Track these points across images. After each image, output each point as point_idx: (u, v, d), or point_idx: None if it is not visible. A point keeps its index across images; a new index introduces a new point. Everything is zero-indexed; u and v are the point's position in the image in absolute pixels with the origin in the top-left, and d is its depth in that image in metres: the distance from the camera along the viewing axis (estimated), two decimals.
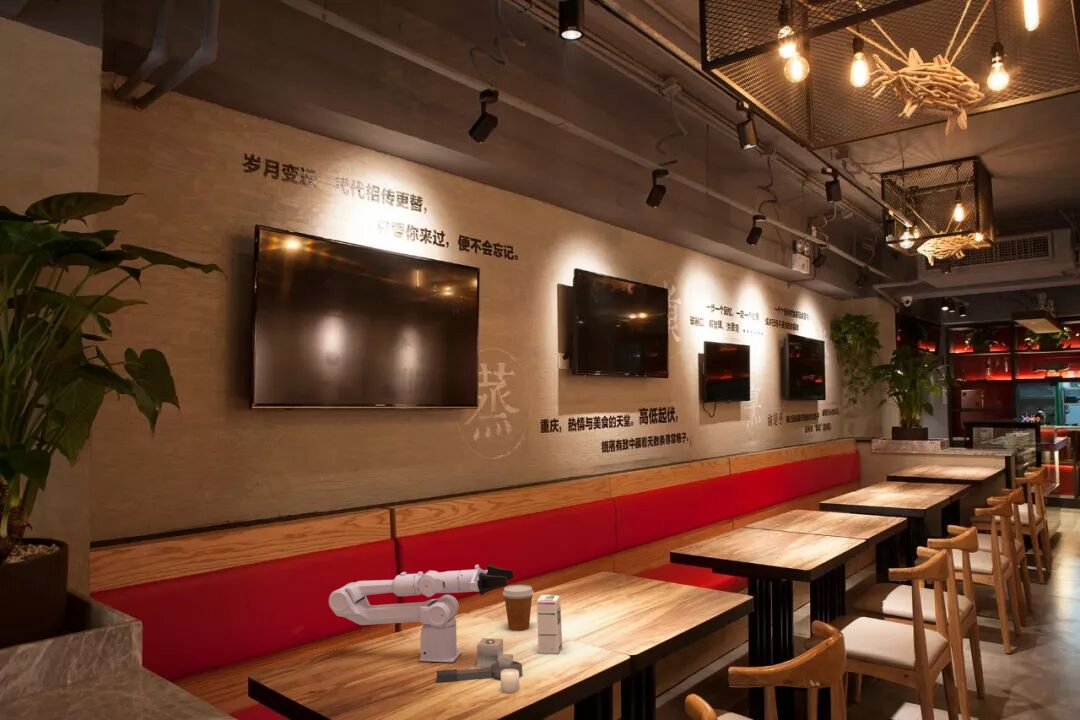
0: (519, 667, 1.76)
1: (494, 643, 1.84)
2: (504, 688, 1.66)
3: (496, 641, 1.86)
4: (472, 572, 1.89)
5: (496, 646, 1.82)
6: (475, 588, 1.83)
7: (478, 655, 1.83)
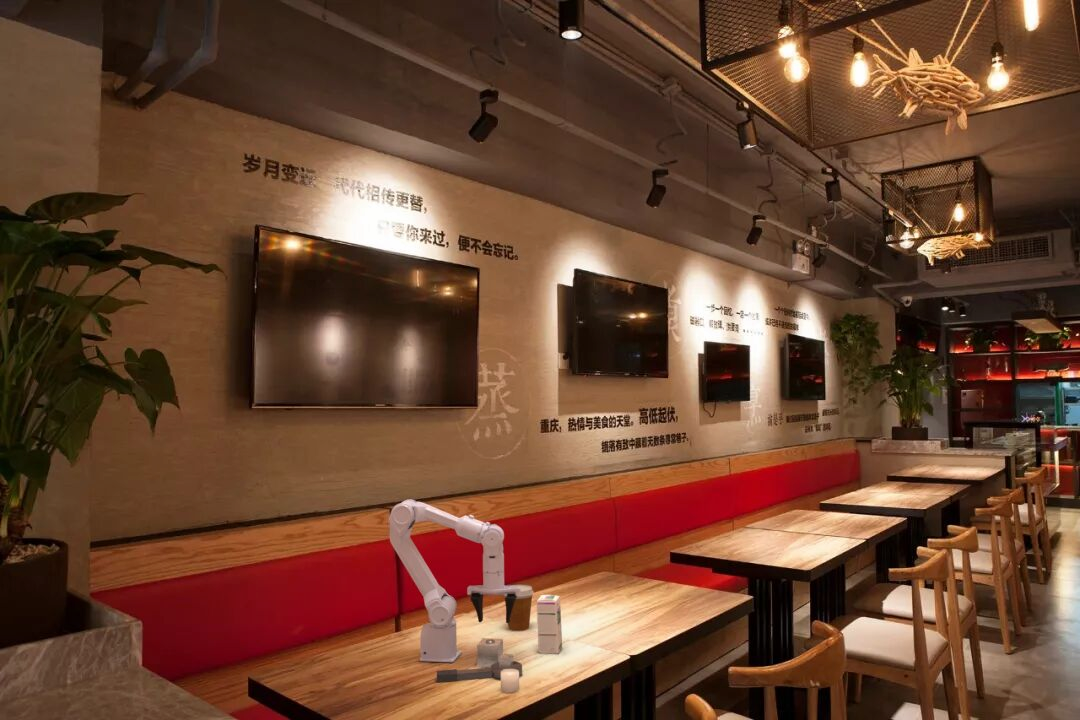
0: (519, 667, 1.76)
1: (494, 643, 1.84)
2: (504, 688, 1.66)
3: (496, 641, 1.86)
4: None
5: (496, 646, 1.82)
6: (519, 593, 1.89)
7: (478, 655, 1.83)
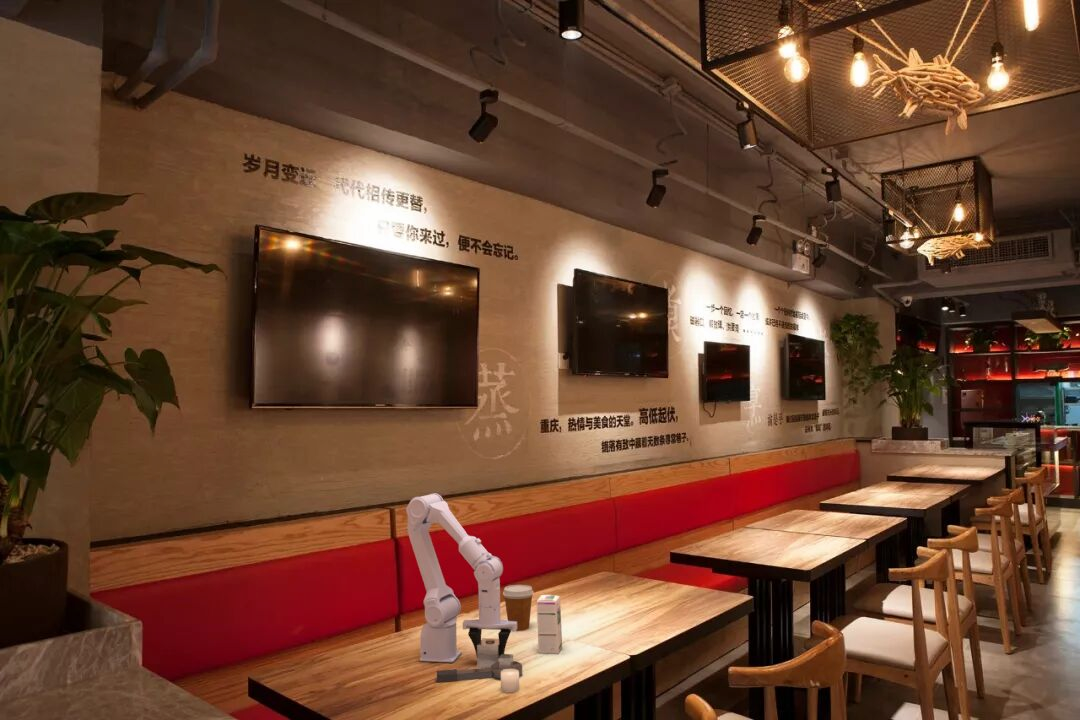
0: (519, 667, 1.76)
1: (494, 643, 1.84)
2: (504, 688, 1.66)
3: (496, 641, 1.86)
4: None
5: (496, 646, 1.82)
6: (516, 629, 1.84)
7: (478, 655, 1.83)
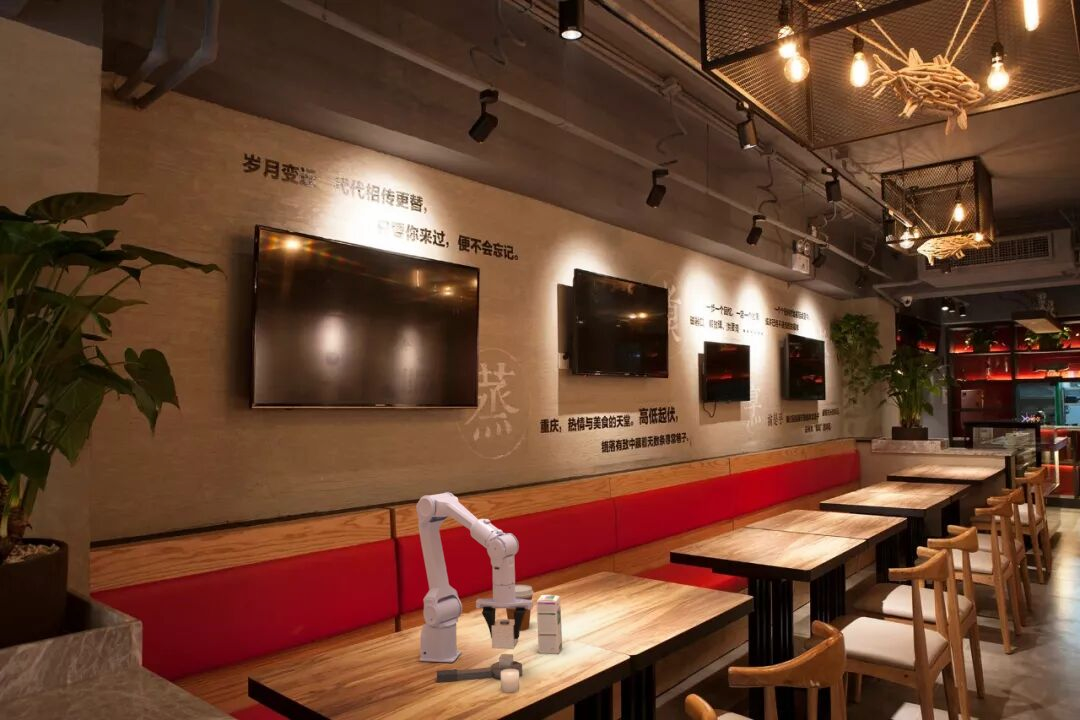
0: (519, 667, 1.76)
1: (509, 623, 1.77)
2: (504, 688, 1.66)
3: (511, 622, 1.79)
4: None
5: (511, 626, 1.76)
6: (531, 607, 1.77)
7: (493, 636, 1.76)
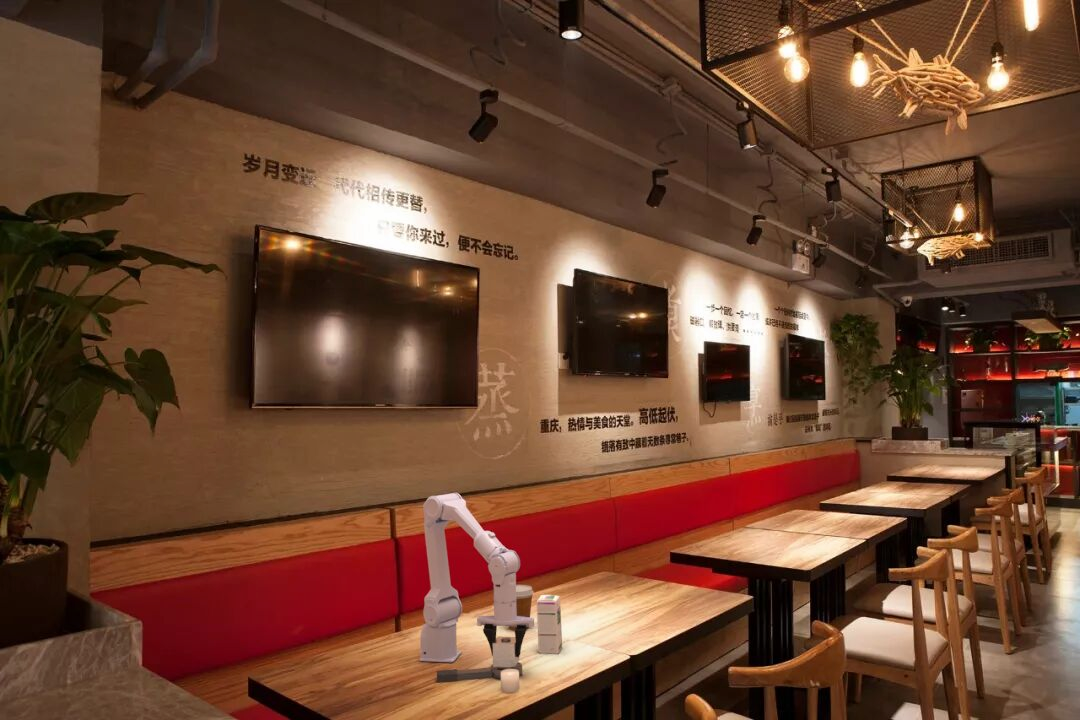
0: (519, 667, 1.76)
1: (510, 641, 1.76)
2: (504, 688, 1.66)
3: (512, 639, 1.78)
4: None
5: (512, 644, 1.75)
6: (533, 625, 1.76)
7: (494, 654, 1.75)
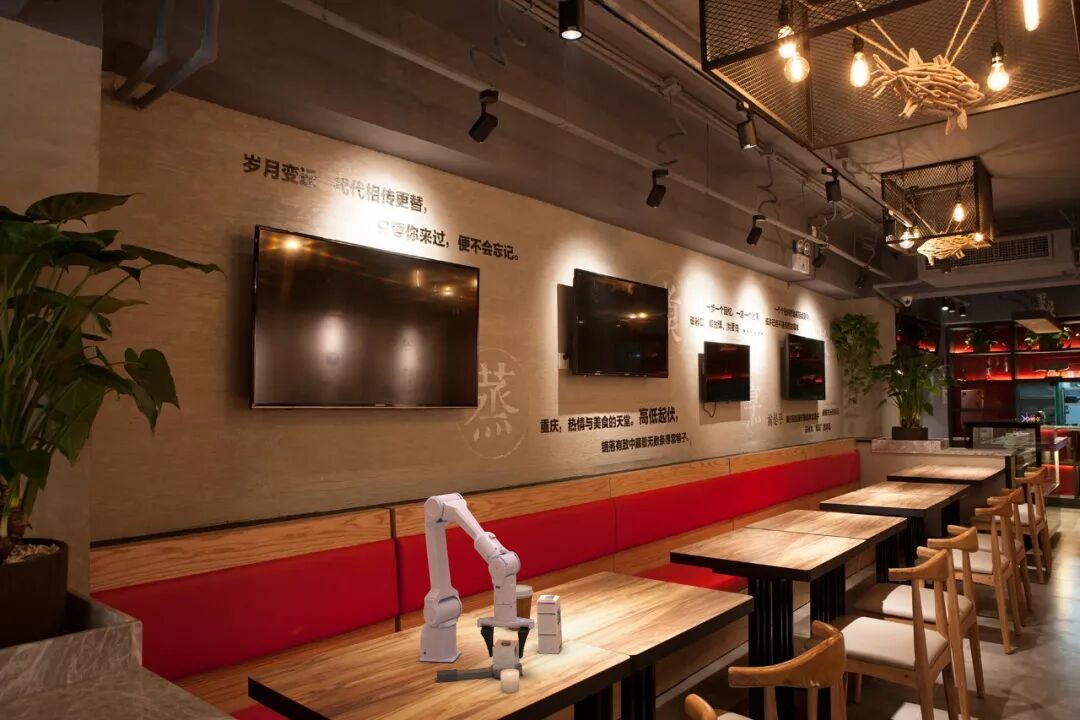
0: (519, 667, 1.76)
1: (510, 645, 1.76)
2: (504, 688, 1.66)
3: (512, 643, 1.78)
4: None
5: (512, 648, 1.75)
6: (533, 627, 1.76)
7: (494, 657, 1.75)
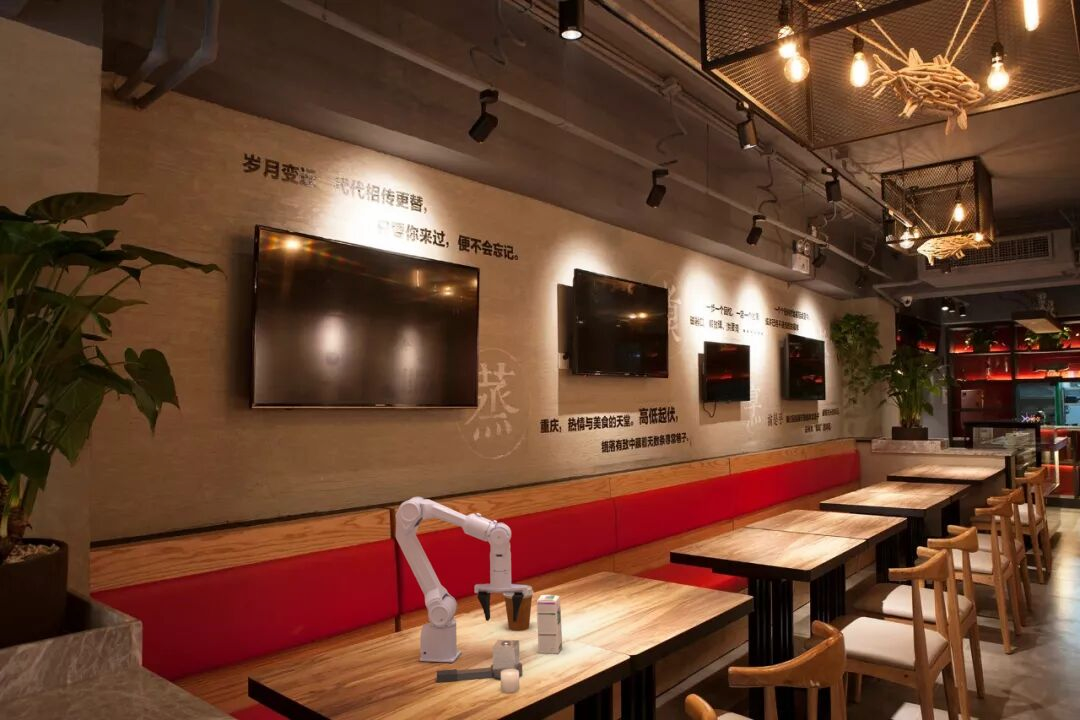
0: (519, 667, 1.76)
1: (510, 645, 1.76)
2: (504, 688, 1.66)
3: (512, 643, 1.78)
4: None
5: (512, 648, 1.75)
6: (526, 592, 1.89)
7: (494, 657, 1.75)
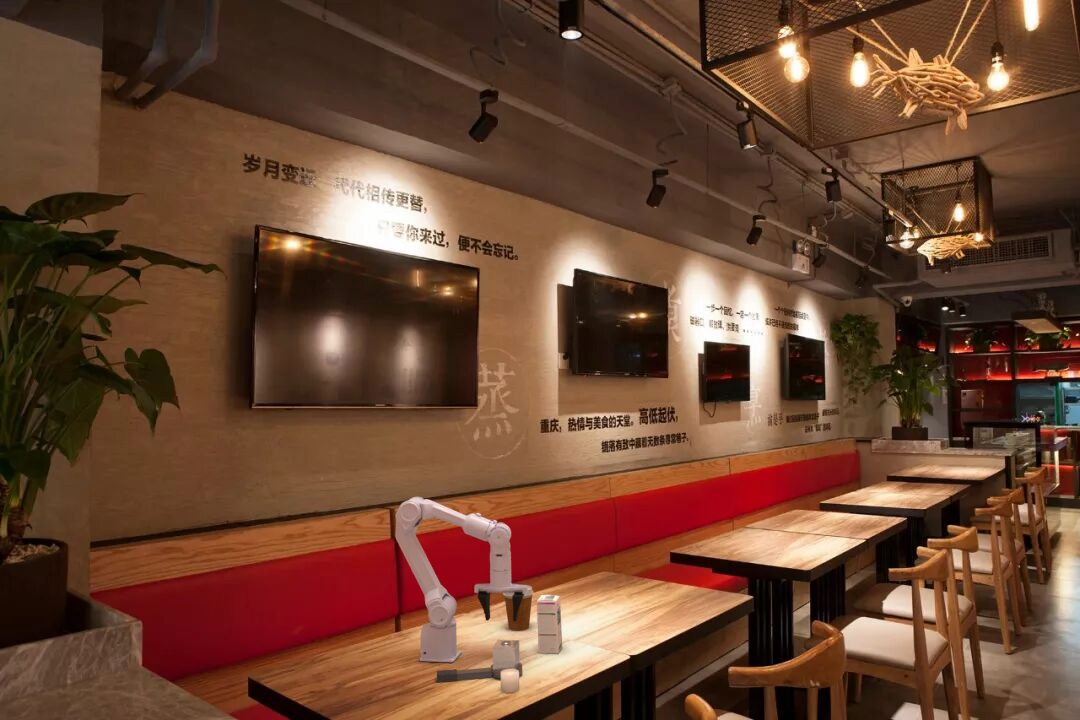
0: (519, 667, 1.76)
1: (510, 645, 1.76)
2: (504, 688, 1.66)
3: (512, 643, 1.78)
4: None
5: (512, 648, 1.75)
6: (526, 592, 1.89)
7: (494, 657, 1.75)
